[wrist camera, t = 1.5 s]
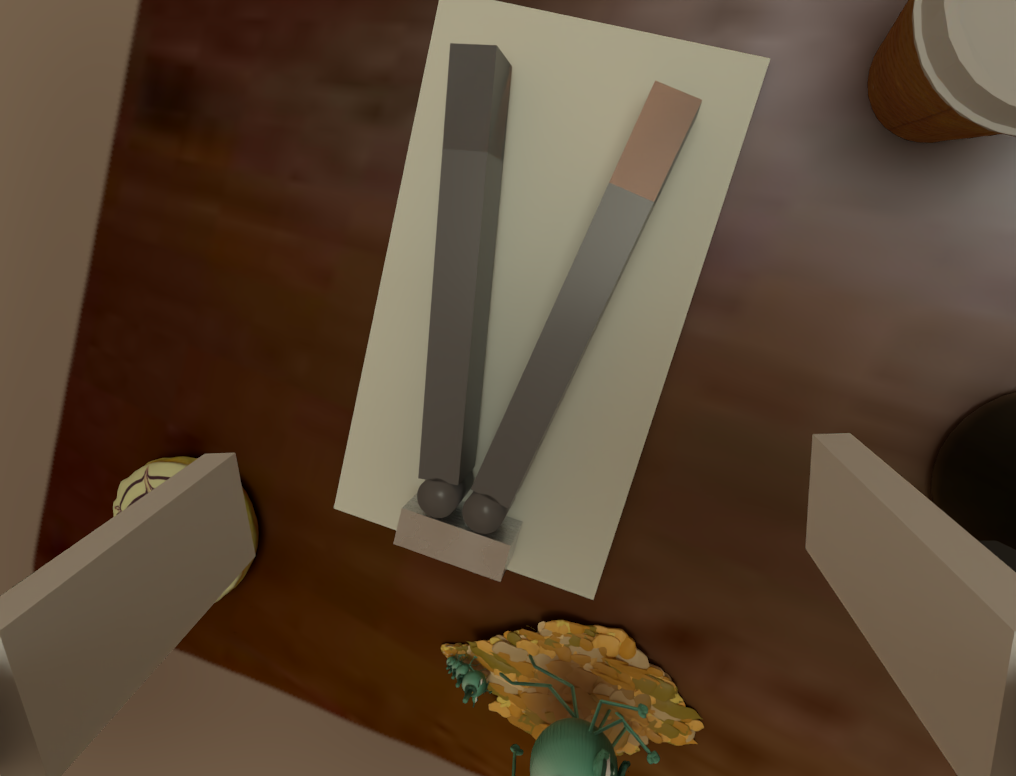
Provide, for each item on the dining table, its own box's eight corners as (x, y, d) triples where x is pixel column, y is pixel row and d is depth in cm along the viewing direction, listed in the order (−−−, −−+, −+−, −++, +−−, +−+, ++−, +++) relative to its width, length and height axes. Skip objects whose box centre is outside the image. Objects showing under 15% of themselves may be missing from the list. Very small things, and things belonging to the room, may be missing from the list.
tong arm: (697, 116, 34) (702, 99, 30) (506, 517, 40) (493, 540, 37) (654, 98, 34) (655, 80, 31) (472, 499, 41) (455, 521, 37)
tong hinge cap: (522, 521, 41) (510, 545, 37) (513, 554, 41) (500, 582, 38) (422, 487, 42) (401, 508, 38) (414, 520, 42) (393, 543, 39)
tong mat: (767, 63, 34) (770, 58, 33) (594, 593, 41) (593, 599, 41) (445, -6, 36) (441, -11, 36) (339, 503, 44) (333, 508, 43)
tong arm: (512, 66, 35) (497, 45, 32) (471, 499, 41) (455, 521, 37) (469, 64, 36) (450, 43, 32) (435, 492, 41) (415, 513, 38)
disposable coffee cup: (1004, -72, 31) (1218, -273, 19) (1077, 117, 31) (1324, 33, 20) (802, 38, 33) (883, -81, 22) (874, 209, 34) (988, 183, 22)
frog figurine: (470, 555, 43) (416, 712, 29) (726, 653, 42) (802, 862, 28) (426, 671, 45) (355, 871, 31) (668, 766, 45) (711, 1012, 30)
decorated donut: (124, 541, 49) (81, 563, 45) (168, 423, 46) (127, 437, 42) (237, 614, 48) (202, 642, 44) (289, 498, 45) (257, 518, 41)
